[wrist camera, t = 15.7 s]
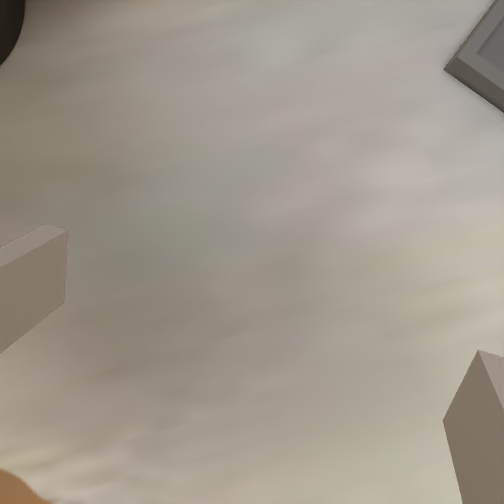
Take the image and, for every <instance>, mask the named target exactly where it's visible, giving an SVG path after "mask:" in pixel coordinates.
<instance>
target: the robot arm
mask: <svg viewBox="0 0 504 504" xmlns="http://www.w3.org/2000/svg"><path fill="white" fill-rule="evenodd" d="M23 14H24V0H0V64H1V63H2V61H3V60H4V59H5V58H6V57H7V55H8V54H9V52H10V51H11V49H12V47H13V46H14V44H15V42H16V39H17V37H18V35H19V32H20V28H21V25H22V20H23ZM67 235H68V230H65V229H62V228H59V227H55V226H52V225H48V224H45V225H43V226H41V227H39V228H37V229H35V230H33V231H31V232H29V233H27V234H25V235H23V236H21V237H19V238H17V239H15V240H13V241H11V242H9V243H7V244H5V245H3V246H1V247H0V353H1V352H3V351H4V350H5V349H6V348H8V347H9V346H10V345H11V344H13V343H14V342H15V341H16V340H18V339H19V338H20V337H21V336H23V335H24V334H25V333H26V332H28V331H29V330H30V329H31V328H33V327H34V326H35V325H36V324H38V323H39V322H40V321H41V320H43V319H44V318H45V317H46V316H48V315H49V314H50V313H52V312H53V311H54V310H55V309H57V308H58V307H59V306H60V305H62V304H63V303H64V292H65V273H66V254H67ZM443 423H444V428H445V432H446V436H447V440H448V444H449V448H450V452H451V456H452V460H453V465H454V469H455V473H456V477H457V481H458V485H459V489H460V493H461V497H462V501H463V504H504V357H501V356H497V355H494V354H490V353H487V352H484V351H480V350H478V351H477V353H476V355H475V357H474V359H473V361H472V363H471V365H470V367H469V369H468V371H467V373H466V375H465V377H464V379H463V381H462V383H461V385H460V387H459V389H458V391H457V393H456V395H455V397H454V399H453V401H452V403H451V405H450V407H449V409H448V411H447V413H446V415H445V417H444V419H443Z"/></svg>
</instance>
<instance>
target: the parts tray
mask: <svg viewBox="0 0 504 504" xmlns="http://www.w3.org/2000/svg"><path fill="white" fill-rule="evenodd" d="M444 70H445V71H447V72H448V73H449V74H451V75H452V76H454V77H455V78H456V79H458V80H459V81H461V82H462V83H463V84H465V85H466V86H468V87H469V88H470V89H472V90H473V91H475V92H476V93H477V94H479V95H480V96H482V97H483V98H484V99H486V100H487V101H489V102H490V103H491V104H493V105H494V106H496V107H497V108H498V109H500V110H501V111H503V112H504V0H495V2H494V3H493V4H492V6H491V7H490V8H489V10H488V11H487V12H486V14H485V15H484V16H483V18H482V19H481V20H480V22H479V23H478V24H477V26H476V27H475V28H474V30H473V31H472V32H471V34H470V35H469V36H468V38H467V39H466V40H465V42H464V43H463V44H462V46H461V47H460V48H459V50H458V51H457V52H456V54H455V55H454V56H453V58H452V59H451V60H450V62H449V63H448V64H447V65H446V67H445V68H444Z"/></svg>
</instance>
